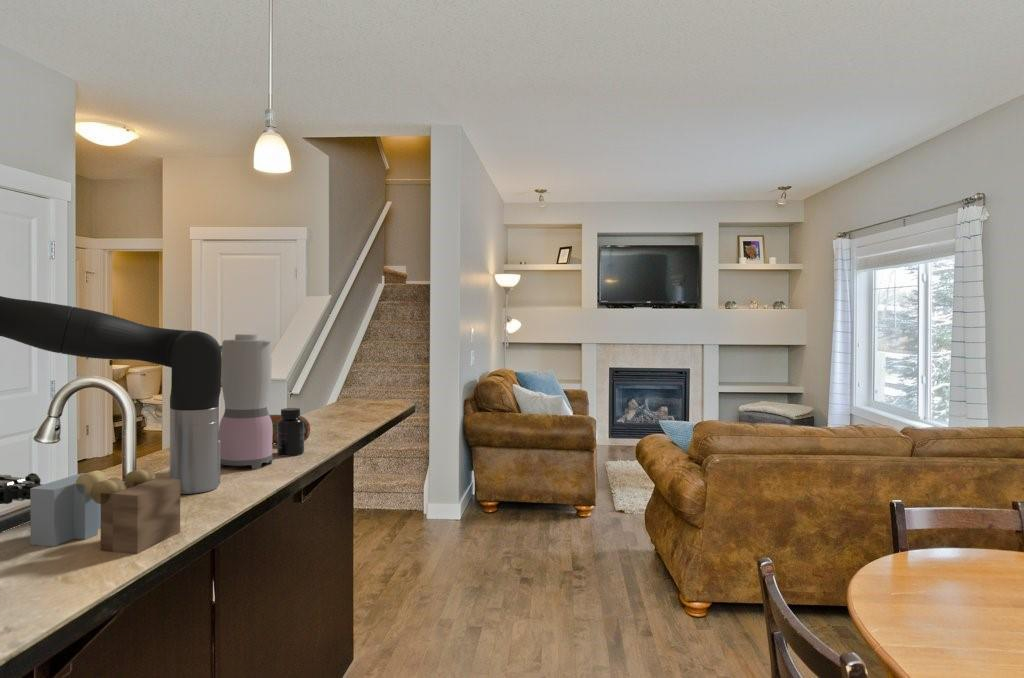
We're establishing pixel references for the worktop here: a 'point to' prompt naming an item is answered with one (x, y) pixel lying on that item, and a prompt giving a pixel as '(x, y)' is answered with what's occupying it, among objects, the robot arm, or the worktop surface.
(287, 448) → the supplement bottle
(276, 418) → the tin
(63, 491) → the grey block
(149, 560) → the worktop surface
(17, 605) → the worktop surface
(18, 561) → the worktop surface
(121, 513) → the fixed leaf
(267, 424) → the blender
